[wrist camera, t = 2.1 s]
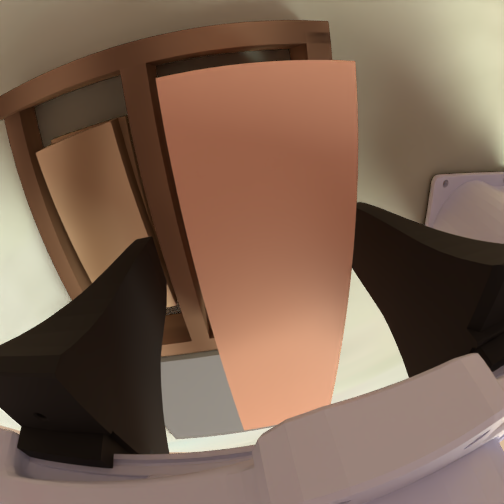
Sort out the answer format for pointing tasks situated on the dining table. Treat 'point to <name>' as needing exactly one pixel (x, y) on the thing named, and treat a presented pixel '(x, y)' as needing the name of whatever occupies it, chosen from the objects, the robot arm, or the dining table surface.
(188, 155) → the salmon orange block
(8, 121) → the rack
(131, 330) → the robot arm
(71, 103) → the dining table surface
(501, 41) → the dining table surface
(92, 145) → the offcut top
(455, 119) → the dining table surface
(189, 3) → the dining table surface
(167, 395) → the mat
